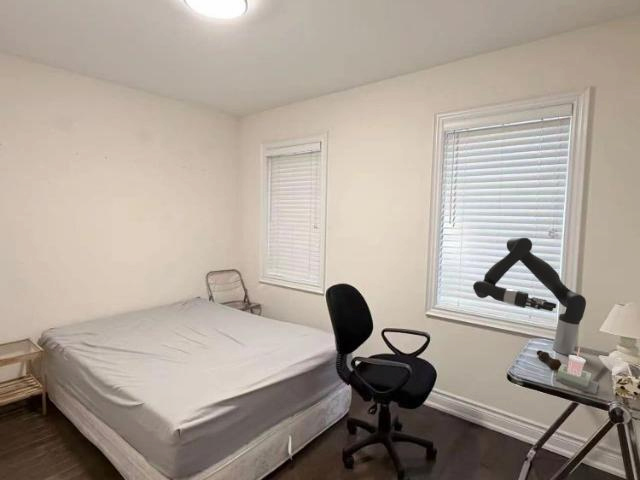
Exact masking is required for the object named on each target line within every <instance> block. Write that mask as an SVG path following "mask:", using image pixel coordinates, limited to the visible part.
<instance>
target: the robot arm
mask: <svg viewBox="0 0 640 480" xmlns="http://www.w3.org/2000/svg"><path fill="white" fill-rule="evenodd" d="M532 248H533V242H532V240H531V239H530V238H528V237H525V236H522V237H521V236H518V237H511V238H509V239H508V240H507V241H506V249H507V250H508V254H507V255H505V256H504V257H503V258H501V259H500V260H498V261H497V262H495V264H493V265H492V266H491V267H490V268H489V269H488V271H486V273H485V274H484V278H483V280H477V281H475V282H474V284H473V285H472V286H473V288H472V289H473V291H474V293H475V295H476V297H478V298H479V299H485V298H487V297H491V298H492V299H493V300H494V301H495V300H496V301H498V302H502V303H506V304H509V305H512V306H516V307H518V308H521V309H522V308H524V309H525V308H526V307H528V308H533V309H536V310H544V311H545V310H546V311H549V312H553V310H554V309H556V308H557V306H558V305H557V303H554V302H551V301H548V300H546V299H543V298H538V297H534V296H533V297H529V293H528V292H525V291H520V290H516V289H512V288H505V287H501V286H497V285H496V284H497V283H498V282H499V281H500V280H501V279H502V278H503V277H504V276H505V274H506V273H507V272H508V271H509V270H510V269H511V268H512V267H513V266H515V264H517V263H518V262H519V261H520V262H521V263H522V264H523V265H524V266H525V268H527V270H529V271H530V272H531V273H532V275H534V277H536V279H537V280H538V281H539V282H540V283H541V284H543V286H544V287H545V288H547V289H548V291H550V292H551V293H552V294H553V296H554V297H555V299H556V300H557V301H558V302H559V304H560V305H562V306H563V307H565V311H564V313H560V314H559V315H558V320H557V325H556V329H555V335H554V339H553V344H552V350H554V351H555V352H557V353H559V354H562V355H565V356H566V355H567V356H569V355H574V351H575V347H576V346H575V345H576V341H577V337H578V336H577V335H578V331H579V327H580V323H581V320H583V317H584V314H585V310H586V306H587V300H586V297H584V295H582V294H579V293H576V292H574V291H572V290H571V289H569V288H568V287H567V286H566V285H565V284H564V283H563V282H562V280H561V278H560V275H559V273H558V272H557V271H556V270H555V269H554V268H553V267H552V265H550V264H549V263H548V262H546V261H545V260H543V259H541V258H540V257H538V256H537V255H535V254H533V253H532V252H531V251H532Z"/></svg>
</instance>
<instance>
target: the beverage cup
mask: <svg viewBox="0 0 640 480" xmlns="http://www.w3.org/2000/svg"><path fill="white" fill-rule="evenodd" d="M580 351H581V347H580V346H579V347H578V350H577V355H574V354H573V355H568V371H567V372H568V373H571V374H573V375H576V376H579V377H580V376H581V373H582V370H583V368H584V365H585V364H586V362H587V361H586V359H585V358H583V357H581V356H579V355H580Z"/></svg>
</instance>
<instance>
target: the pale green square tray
mask: <svg viewBox="0 0 640 480" xmlns="http://www.w3.org/2000/svg"><path fill="white" fill-rule="evenodd" d="M567 371H568V365H567V364H564V363H561V366H560V368H559V369H558V370H557V373H556V377H555V381H556V382H559V383H562V384H565V385H567V386H569V387H572V388H575V389H577V390H581V391H584V392H586V393H588V394H590V395H591V394H592V395H594V396H596V395H597V392H598V389H599V382H598V381H595V380H592V379H591V378H592V373H591V372H588V371H585V370H583V369H582V373H581V376H580V377H579V376H576V375H573V374H571V373H568V372H567Z"/></svg>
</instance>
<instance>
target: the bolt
mask: <svg viewBox="0 0 640 480" xmlns="http://www.w3.org/2000/svg"><path fill="white" fill-rule="evenodd" d="M536 355H537V356H538V358H539V360H540V361H543V362H545V363H546V364H548V367H549V369H550V370H553V371H558V369H559V368H560V366H561V364H562V363H561V360H560V359H558V358H552V357H551V356H550V354H549V352H547V351H543V350H540V349H539V350H537V351H536Z"/></svg>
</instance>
